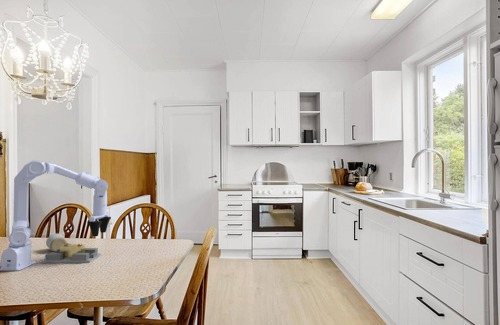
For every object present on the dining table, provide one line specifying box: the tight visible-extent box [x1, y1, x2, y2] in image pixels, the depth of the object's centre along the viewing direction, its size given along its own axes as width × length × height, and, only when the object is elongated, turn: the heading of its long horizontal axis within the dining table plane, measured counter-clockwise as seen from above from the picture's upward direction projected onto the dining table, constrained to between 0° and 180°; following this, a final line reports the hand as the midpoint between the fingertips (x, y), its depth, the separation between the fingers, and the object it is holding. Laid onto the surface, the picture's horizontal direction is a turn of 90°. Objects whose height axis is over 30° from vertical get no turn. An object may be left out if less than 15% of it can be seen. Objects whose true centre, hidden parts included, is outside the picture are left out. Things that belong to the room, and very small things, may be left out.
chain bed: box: [41, 247, 102, 264], centre depth 123 cm, size 10×20×4 cm, turn 93°
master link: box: [60, 243, 86, 258], centre depth 123 cm, size 4×9×6 cm, turn 93°
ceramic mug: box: [45, 233, 70, 253], centre depth 137 cm, size 11×8×8 cm
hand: (99, 234), depth 129 cm, fingers open, 7 cm apart
